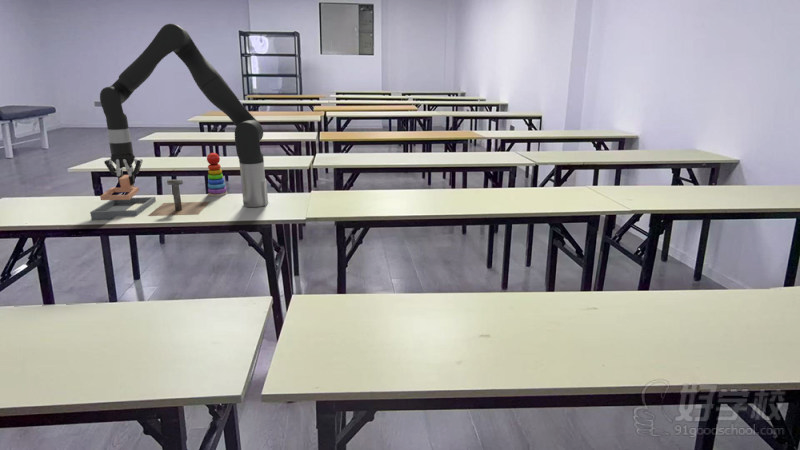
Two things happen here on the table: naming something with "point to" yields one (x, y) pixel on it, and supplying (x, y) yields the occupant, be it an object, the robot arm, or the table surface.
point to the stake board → (185, 207)
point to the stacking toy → (215, 176)
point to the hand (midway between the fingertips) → (127, 185)
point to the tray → (121, 208)
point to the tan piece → (121, 190)
